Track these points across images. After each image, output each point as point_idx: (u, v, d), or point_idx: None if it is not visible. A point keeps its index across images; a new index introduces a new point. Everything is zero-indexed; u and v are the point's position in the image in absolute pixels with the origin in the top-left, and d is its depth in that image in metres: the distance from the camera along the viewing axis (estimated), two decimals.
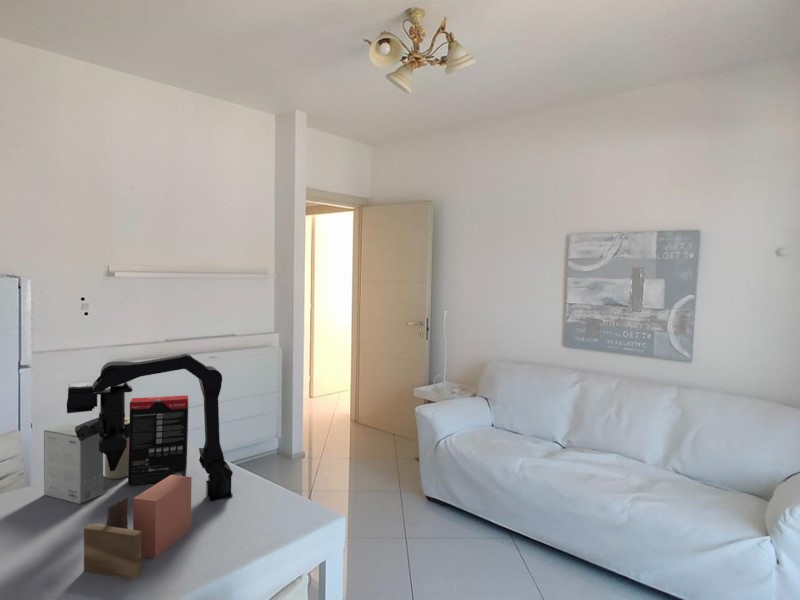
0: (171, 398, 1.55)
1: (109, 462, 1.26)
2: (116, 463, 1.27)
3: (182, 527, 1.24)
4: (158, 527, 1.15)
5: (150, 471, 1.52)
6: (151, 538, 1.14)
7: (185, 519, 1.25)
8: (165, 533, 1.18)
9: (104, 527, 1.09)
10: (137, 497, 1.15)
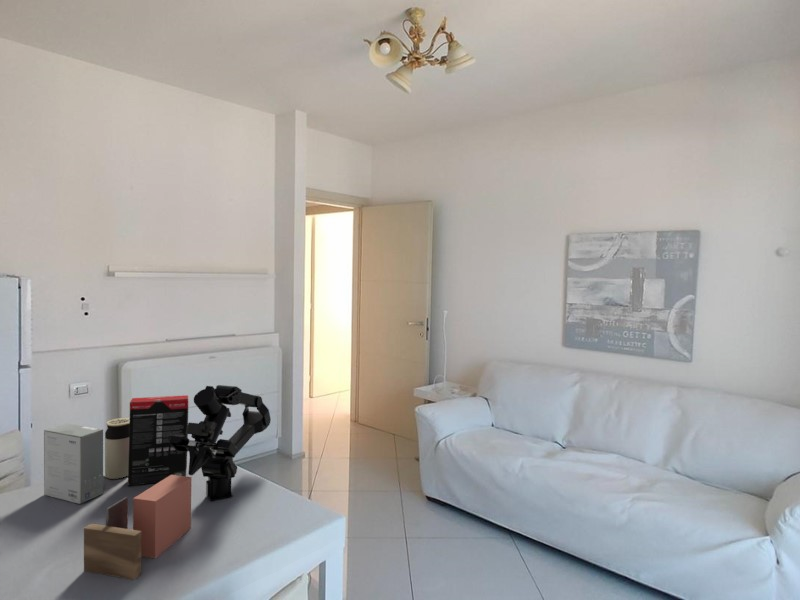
0: (171, 398, 1.55)
1: (197, 464, 1.33)
2: (198, 468, 1.34)
3: (182, 527, 1.24)
4: (158, 527, 1.15)
5: (150, 471, 1.52)
6: (151, 538, 1.14)
7: (185, 519, 1.25)
8: (165, 533, 1.18)
9: (104, 527, 1.09)
10: (137, 497, 1.15)
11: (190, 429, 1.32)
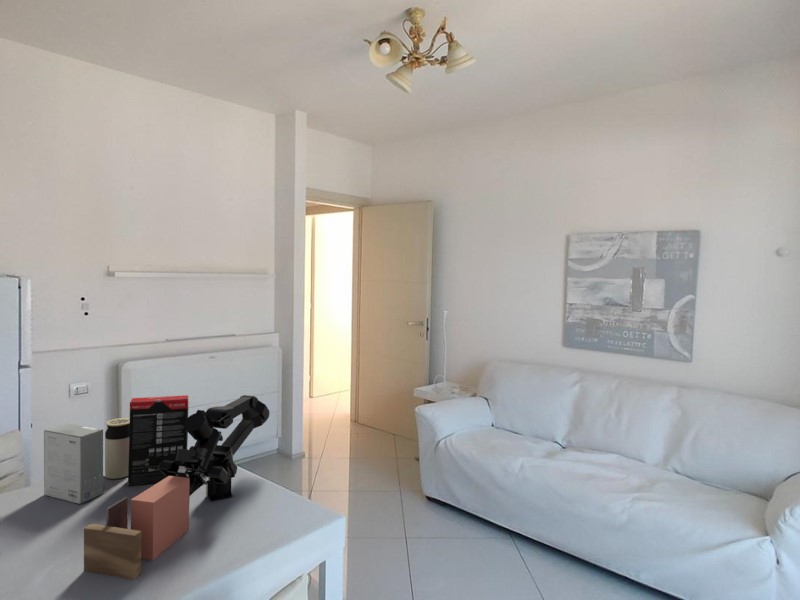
0: (171, 398, 1.55)
1: None
2: None
3: (180, 528, 1.24)
4: (156, 528, 1.14)
5: (150, 471, 1.52)
6: (149, 540, 1.13)
7: (183, 520, 1.25)
8: (162, 534, 1.17)
9: (104, 527, 1.09)
10: (135, 498, 1.14)
11: (180, 456, 1.28)
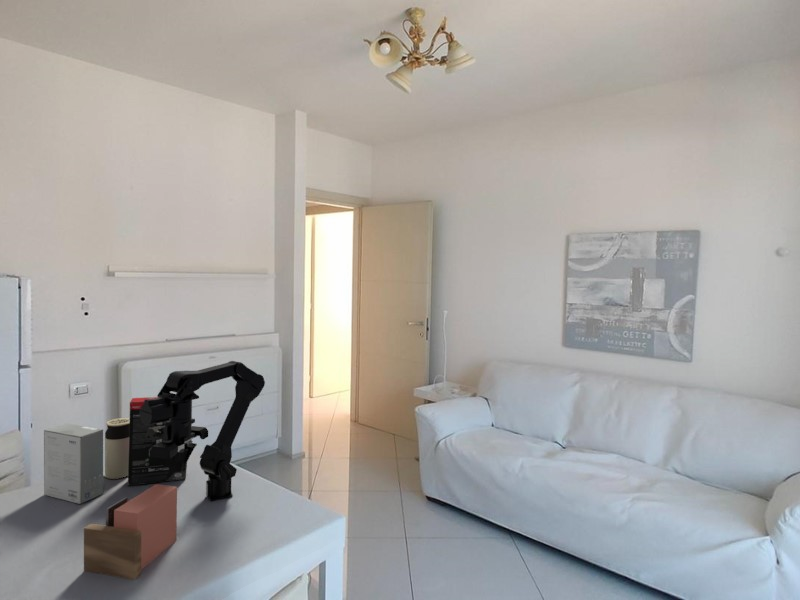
0: None
1: (175, 463, 1.34)
2: (180, 465, 1.34)
3: (167, 539, 1.19)
4: None
5: (150, 471, 1.52)
6: None
7: (170, 531, 1.20)
8: (147, 546, 1.12)
9: (104, 527, 1.09)
10: (118, 509, 1.09)
11: None
